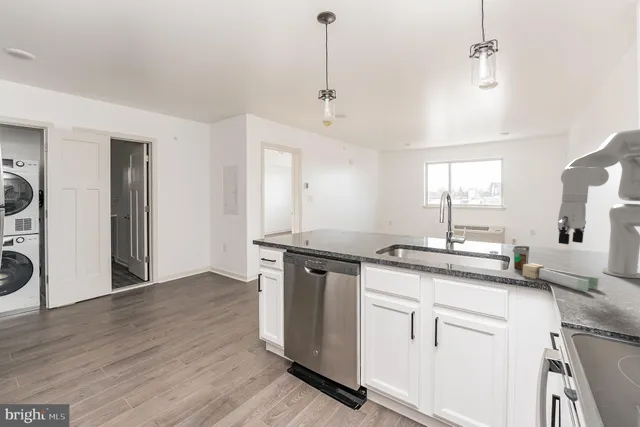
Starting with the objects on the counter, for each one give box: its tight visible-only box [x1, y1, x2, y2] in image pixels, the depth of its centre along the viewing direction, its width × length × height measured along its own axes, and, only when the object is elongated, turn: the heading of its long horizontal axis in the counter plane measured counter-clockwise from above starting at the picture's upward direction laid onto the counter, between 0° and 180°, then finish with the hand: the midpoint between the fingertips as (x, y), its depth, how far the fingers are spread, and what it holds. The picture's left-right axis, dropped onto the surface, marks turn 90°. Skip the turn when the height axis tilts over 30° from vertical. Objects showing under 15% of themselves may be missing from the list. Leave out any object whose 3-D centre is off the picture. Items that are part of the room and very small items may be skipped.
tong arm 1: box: [538, 269, 589, 293], centre depth 120 cm, size 18×2×4 cm, turn 16°
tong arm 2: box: [543, 267, 600, 290], centre depth 122 cm, size 18×2×4 cm, turn 34°
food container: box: [512, 245, 530, 272], centre depth 146 cm, size 12×6×10 cm, turn 141°
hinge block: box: [521, 263, 545, 280], centre depth 132 cm, size 6×5×5 cm
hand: (570, 243), depth 119 cm, fingers open, 9 cm apart
